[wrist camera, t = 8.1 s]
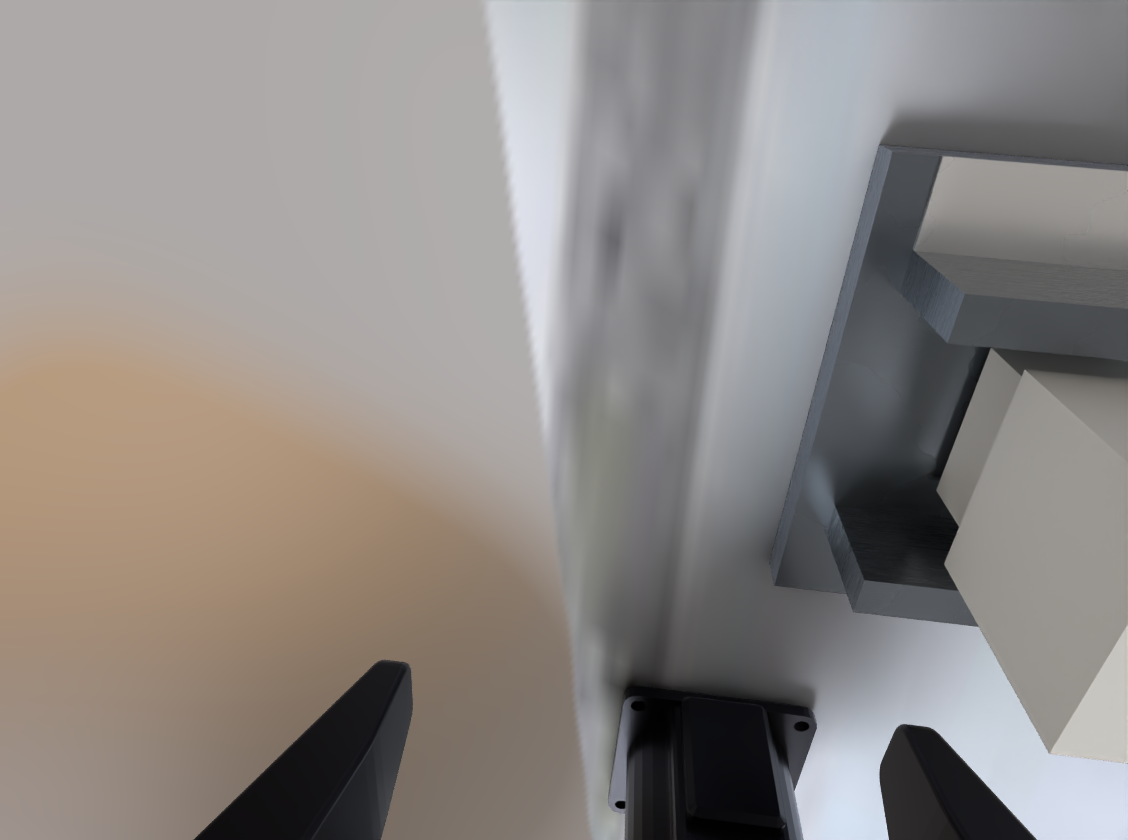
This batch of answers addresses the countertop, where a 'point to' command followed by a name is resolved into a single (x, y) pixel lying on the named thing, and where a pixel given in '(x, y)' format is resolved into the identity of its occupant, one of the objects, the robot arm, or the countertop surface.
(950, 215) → the bench
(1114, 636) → the off-white rectangular block
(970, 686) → the countertop surface
